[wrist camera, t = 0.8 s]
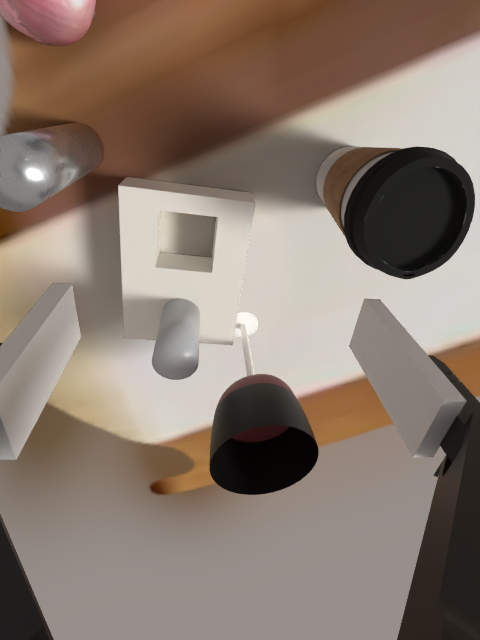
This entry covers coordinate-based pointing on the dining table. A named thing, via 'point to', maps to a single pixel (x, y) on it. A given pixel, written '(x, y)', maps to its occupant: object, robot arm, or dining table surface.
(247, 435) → the wineglass
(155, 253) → the socket block
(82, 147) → the pipe
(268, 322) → the dining table surface
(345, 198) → the coffee cup
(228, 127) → the dining table surface
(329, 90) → the dining table surface
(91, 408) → the dining table surface
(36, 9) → the red onion
